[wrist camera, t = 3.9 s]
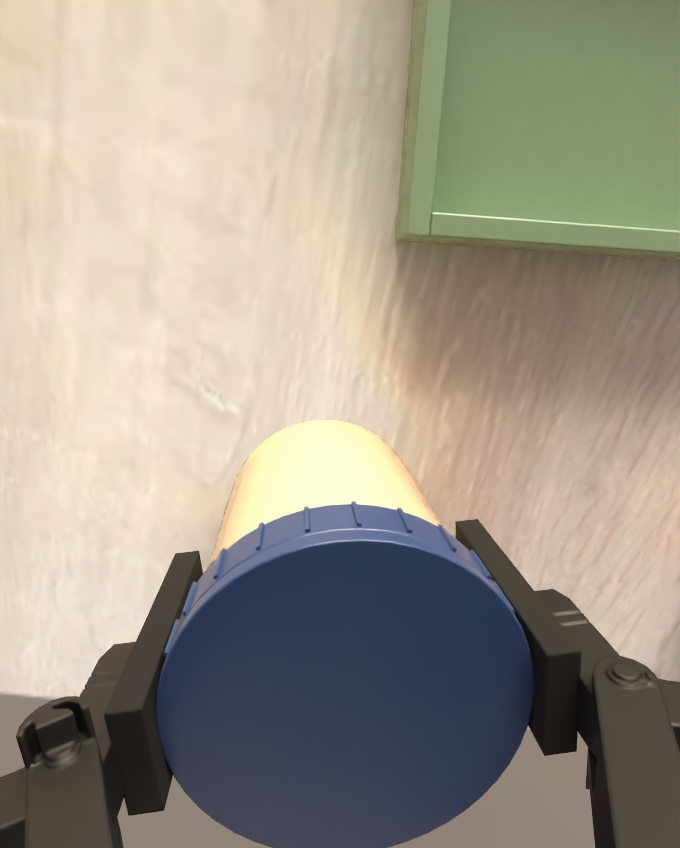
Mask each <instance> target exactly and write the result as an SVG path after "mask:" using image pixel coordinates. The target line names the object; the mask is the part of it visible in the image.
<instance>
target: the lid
mask: <svg viewBox="0 0 680 848" xmlns="http://www.w3.org/2000/svg"><path fill="white" fill-rule="evenodd" d="M491 578H492V576H491V575H490V574H489V572H488V571H487V569H486V568H485V566H484V565H483V563H482V562H481V560H480V559H479V557H478V556H477V555H476V553H475V552H474V551H473V550H471V551H469V550H468V549H467V548H466V547H465V546H464V545H462V544H461V543H460V542H459V541H458V540H457V539H456V538H454V537H453V536H451V535H450V534H449V533H447V532H446V531H445V529H444V527H443V526H442V525H441V524H439V525H438V526H436V525H434V524H432V523H430V522H428V521H426V520H424V519H422V518H420V517H417V516H414V515H411V514H409V513H406V512H404V511H403V509H402V508H399V507H398V509H397V510H396V509H391V508H386V507H381V506H375V505H362V504H357V503H356V501H352V502H351V504H339V505H327V506H321V507H315V508H309V507H308V506H305V507H304V510H301V511H298V512H294V513H291V514H288V515H284V516H282V517H280V518H277V519H275V520H273V521H271V522H268V523H266V524H264V523H263V522H261V523H259V526H258V528H257V529H255V530H253V531H251V532H250V533H248V534H246V535H245V536H243V537H242V538H240V539H239V540H238V541H236V542H235V543H234V544H233V545H231V546H230V547H229V548H227V549H226V550H225V549H224V548H223V549H222V550H220V554H219V557H218V558H217V559H216V560H215V561H214V562H213V563H212V564H211V565H210V566H209V567H208V568H207V570H206V571H205V572H204V574H203V575H202V576H201V578H200V579H199V580H198V582H197V583H196V582H193V583H192V585H191V588H190V591H189V594H188V597H187V600H186V603H185V606H184V609H183V611H182V614H181V617H180V620H178V619H176V621H175V623H174V626H173V629H172V632H171V635H170V637H169V640H168V643H167V646H166V649H165V651H164V655H163V656H166V660H165V663H164V666H163V668H162V671H161V675H160V680H159V685H158V690H157V701H156V719H157V726H158V731H159V736H160V741H161V745H162V749H163V753H164V756H165V759H166V761H167V763H168V765H169V767H170V769H171V771H172V773H173V775H174V777H175V778H176V780H177V781H178V783H179V784H180V786H181V787H182V789H183V790H184V791H185V793H186V794H187V795H188V796H189V797H190V798H191V799H192V800H193V801H194V803H195V804H196V805H197V806H198V807H199V808H200V809H201V810H203V811H204V812H205V813H206V814H208V815H209V816H210V817H211V818H212V819H214V820H215V821H217V822H218V823H220V824H221V825H223V826H224V827H226V828H228V829H229V830H231V831H233V832H234V833H236V834H239V835H241V836H243V837H245V838H247V839H250V840H252V841H254V842H257V843H260V844H263V845H266V846H269V847H273V848H387V847H391V846H394V845H397V844H401V843H404V842H407V841H410V840H412V839H414V838H417V837H419V836H422V835H424V834H426V833H429V832H431V831H432V830H434V829H436V828H438V827H440V826H442V825H443V824H445V823H447V822H449V821H450V820H452V819H453V818H455V817H456V816H458V815H459V814H461V813H462V812H464V811H465V810H466V809H467V808H469V807H470V806H471V805H472V804H473V803H475V802H476V801H477V800H478V799H479V798H480V797H482V796H483V795H484V794H485V792H487V791H488V790H489V788H490V787H491V786H492V785H493V784H494V783H495V782H496V781H497V780H498V779H499V777H500V776H501V775H502V773H503V772H504V770H505V769H506V768H507V766H508V765H509V764H510V762H511V760H512V758H513V757H514V755H515V753H516V751H517V750H518V748H519V746H520V744H521V741H522V739H523V736H524V734H525V732H526V729H527V727H528V723H529V719H530V715H531V711H532V706H533V696H534V670H533V662H532V658H531V653H530V648H529V645H528V642H527V640H526V637H525V634H524V632H523V629H522V627H521V625H520V623H519V622H518V620H517V618H516V616H515V615H514V613H515V610H514V608H513V607H512V606H511V604H510V603H509V601H508V600H507V598H506V597H505V595H504V594H503V592H502V591H501V589H500V588H499V587H498V585H497V584H496V582H495V581H494V582H493V581H492V580H491Z"/></svg>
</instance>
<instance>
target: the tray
mask: <svg viewBox="0 0 680 848" xmlns="http://www.w3.org/2000/svg"><path fill="white" fill-rule="evenodd" d="M396 240H400V241H415V242H429V243H443V244H458V245H472V246H486V247H501V248H515V249H529V250H544V251H558V252H572V253H587V254H601V255H615V256H630V257H644V258H658V259H673V260H680V0H415V3H414V16H413V28H412V41H411V53H410V66H409V78H408V91H407V103H406V116H405V128H404V141H403V153H402V166H401V178H400V191H399V203H398V216H397V228H396Z"/></svg>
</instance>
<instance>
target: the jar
mask: <svg viewBox="0 0 680 848" xmlns="http://www.w3.org/2000/svg"><path fill="white" fill-rule="evenodd" d="M352 501H356V503H357V504H362V505H375V506H381V507H386V508H391V509H396V510H397V509H398V507H399V508H402V509H403V511H404V512H406V513H409V514H411V515H414V516H417V517H420V518H422V519H424V520H426V521H428V522H430V523H432V524H434V525H436V526H438V525H439V524H441V525H442V523H441V522H440V520H439V518H438V517H437V515H436V514H435V512H434V511H433V509H432V507H431V506H430V504H429V503H428V501H427V499H426V498H425V496H424V495H423V493H422V491H421V490H420V488H419V487H418V485H417V483H416V482H415V480H414V479H413V477H412V475H411V474H410V472H409V471H408V469H407V467H406V466H405V464H404V463H403V461H402V460H401V458H400V457H399V455H398V454H397V453H396V452H395V450H394V449H393V448H392V447H391V446H390V445H389V444H388V443H387V442H385V441H384V440H383V439H382V438H380V437H379V436H377V435H376V434H374V433H372V432H371V431H369V430H367V429H365V428H362V427H360V426H357V425H354V424H351V423H346V422H342V421H333V420H315V421H309V422H303V423H300V424H296V425H293V426H290V427H288V428H285V429H283V430H281V431H279V432H277V433H275V434H274V435H272V436H270V437H269V438H267V439H266V440H265V441H264V442H262V443H261V444H260V445H259V446H258V447H257V448H256V449H255V450H254V451H253V452H252V453H251V454H250V455H249V457H248V458H247V459H246V461H245V462H244V463H243V465H242V467H241V469H240V471H239V473H238V475H237V477H236V480H235V483H234V485H233V489H232V492H231V495H230V498H229V501H228V505H227V508H226V511H225V514H224V518H223V521H222V524H221V527H220V531H219V534H218V537H217V540H216V544H215V547H214V550H213V553H212V557H211V560H210V563H209V566H210V565H211V564H212V563H213V562H214V561H215V560H216V559H217V558H218V557H219V554H220V550H222V549H223V548H224V549H225V550H226V549H227V548H229V547H230V546H231V545H233V544H234V543H235V542H236V541H238V540H239V539H240V538H242V537H243V536H245V535H246V534H248V533H250V532H251V531H253V530H255V529H257V528H258V526H259V523H261V522H263V523H264V524H266V523H268V522H271V521H273V520H275V519H277V518H280V517H282V516H284V515H288V514H291V513H294V512H298V511H301V510H304V507H305V506H308V507H309V508H315V507H321V506H327V505H339V504H351V502H352ZM442 526H443V525H442ZM443 527H444V526H443ZM444 529H445V528H444ZM445 531H446V530H445ZM446 532H447V531H446ZM209 566H208V567H209Z"/></svg>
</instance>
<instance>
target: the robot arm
mask: <svg viewBox="0 0 680 848" xmlns="http://www.w3.org/2000/svg"><path fill="white" fill-rule="evenodd" d="M456 539H457V540H458V541H459V542H460V543H461V544H462V545H464V546H465V547H466V548H467V549H468V550H469V551H471V550H473V551H474V552H475V553H476V555H477V556H478V557H479V559H480V560H481V562H482V563H483V565H484V566H485V568H486V569H487V571H488V572H489V574H490V575H491V576H492V578H491V580H492V581H493V582H494V581H495V582H496V584H497V585H498V587H499V588H500V589H501V591H502V592H503V594H504V595H505V597H506V598H507V600H508V601H509V603H510V604H511V606H512V607H513V608H514V610H515V613H514V615H515V616H516V618H517V620H518V622H519V623H520V625H521V627H522V629H523V632H524V634H525V637H526V640H527V642H528V645H529V648H530V653H531V658H532V662H533V670H534V696H533V706H532V711H531V715H530V719H529V723H528V726H529V728H530V729H531V731H532V733H533V735H534V737H535V739H536V741H537V742H538V744H539V746H540V748H541V750H542V752H543V754H544V755H545V756H547V755H553V754H560V753H568V752H575V751H576V749H577V731H578V732H579V734H580V735H581V737H582V738H583V740H584V741H585V743H586V744H587V746H588V759H587V776H586V789H590V795H591V805H592V816H593V826H594V838H595V847H596V848H680V682H675V681H667V680H662V679H657V677H656V675H655V674H654V673H653V672H652V671H651V670H650V669H649V668H647V667H646V666H645V665H643V664H641V663H639V662H637V661H635V660H633V659H629V658H625V657H622V656H620V655H619V654H618V653H617V652H616V651H615V650H614V649H613V648H612V646H611V645H610V644H609V643H608V642H607V641H606V640H605V638H604V637H603V636H602V635H601V634H600V633H599V632H598V631H597V629H596V628H595V627H594V626H593V625H592V624H591V623H589V620H588V619H587V618H586V617H585V616H584V615H583V614H582V613H580V610H579V609H578V608H577V607H576V606H575V604H574V603H573V602H572V601H571V600H570V599H569V598H567V597H566V596H564V595H562V594H561V593H559V592H557V591H556V590H554V589H549V590H541V591H534V590H533V589H532V588H531V586H530V585H529V584H528V583H527V581H526V580H525V579H524V578H523V576H522V575H521V574H520V572H519V571H518V570H517V569H516V567H515V566H514V565H513V564H512V562H511V561H510V560H509V559H508V557H507V556H506V555H505V553H504V552H503V551H502V550H501V548H500V547H499V546H498V545H497V543H496V542H495V541H494V540H493V538H492V537H491V536H490V534H489V533H488V532H487V531H486V529H485V528H484V527H483V526H482V524H481V523H480V522H479V520H478V519H475V520H466V521H457V522H456ZM202 575H203V572H202V566H201V560H200V554H199V551H194V552H185V553H176V554H175V556H174V558H173V560H172V563H171V565H170V567H169V569H168V572H167V574H166V576H165V578H164V581H163V583H162V585H161V587H160V589H159V592H158V594H157V596H156V598H155V601H154V603H153V605H152V607H151V609H150V612H149V614H148V616H147V618H146V621H145V623H144V625H143V627H142V630H141V632H140V634H139V636H138V638H137V641H136V642H131V643H123V644H114V645H113V646H112V647H111V648H110V649H109V650H108V651H107V652H106V653H105V654H104V655H103V656H102V657H101V658H100V659H99V661H98V663H97V665H96V666H95V668H94V670H93V672H92V676H91V677H90V678H89V680H88V682H87V684H86V685H85V690H83V691H82V693H81V695H80V697H77V696H73V697H63V698H59V699H56V700H52V701H50V702H49V703H47V704H45V705H43V706H41V707H39V708H38V709H37V710H35V711H34V712H33V713H31V714H30V715H29V716H28V717H27V718H26V719H25V721H24V722H23V723H22V724H21V726H20V727H19V730H18V733H17V736H16V738H17V741H18V744H19V748H20V751H21V754H22V758H23V761H24V764H25V767H24V768H22V769H20V770H17V771H15V772H13V773H10V774H8V775H5V776H3V777H0V848H123V843H122V837H121V831H120V827H119V823H118V819H117V816H118V813H119V810H120V807H121V804H122V801H123V798H125V803H126V807H127V811H128V815H129V816H130V815H137V814H144V813H150V812H157V811H164V808H165V804H166V800H167V796H168V792H169V788H170V784H171V780H172V776H173V773H172V771H171V769H170V767H169V765H168V763H167V761H166V759H165V756H164V753H163V749H162V745H161V741H160V736H159V731H158V726H157V719H156V701H157V690H158V685H159V680H160V675H161V671H162V668H163V666H164V663H165V660H166V656H163V655H164V651H165V649H166V646H167V643H168V640H169V637H170V635H171V632H172V629H173V626H174V623H175V621H176V619H178V620H180V617H181V614H182V611H183V609H184V606H185V603H186V600H187V597H188V594H189V591H190V588H191V585H192V583H193V582H196V583H197V582H198V580H199V579H200V578H201V576H202Z"/></svg>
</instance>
